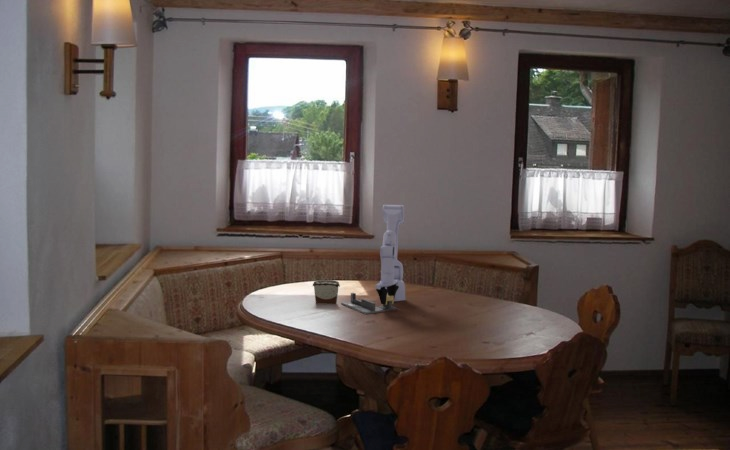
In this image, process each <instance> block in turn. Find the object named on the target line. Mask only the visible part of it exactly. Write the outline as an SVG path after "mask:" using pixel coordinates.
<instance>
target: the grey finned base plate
mask: <svg viewBox="0 0 730 450" xmlns="http://www.w3.org/2000/svg"><path fill="white" fill-rule="evenodd" d="M377 307H379V308H382V309H384V310H385V312H391V311H397V310H398V308H397V307H396V306H393V305H392V304H391V301H387V305H385V304H382V305H377Z"/></svg>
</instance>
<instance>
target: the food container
mask: <svg viewBox="0 0 730 450" xmlns="http://www.w3.org/2000/svg"><path fill="white" fill-rule="evenodd" d="M312 287H313V288H314V289H313V290H314V291H313V292H314V298H315V299H314V300H315V305H332V306H334V305H337V302H338V295H339V288H340V287H341V285H340V282H339V281H337V280H333V279H321V280H315V281H313V283H312Z"/></svg>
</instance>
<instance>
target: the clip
mask: <svg viewBox="0 0 730 450" xmlns="http://www.w3.org/2000/svg"><path fill="white" fill-rule="evenodd" d="M387 301H391V305H394V302H395V301H394V296H392V295H390V294H387V297H386V304H385V305H387Z"/></svg>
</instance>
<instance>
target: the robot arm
mask: <svg viewBox="0 0 730 450" xmlns="http://www.w3.org/2000/svg"><path fill="white" fill-rule="evenodd" d="M405 208H406V207H405V205H403V204H383V205H382V209H381V211H382V212H381V213H382V220H383V223H385V224H386V231H385V232H384V233H383V238H382V245H381V246H380V249H379V250H380V251H379V255H380V262H381V264H380V265H381V266H380V280H379V282H378V283H376V284H375V291H376V292H377V295H378V297H379V301H380V305H383V304H386V297H387V294H390V295H392V296H394V302H402V301H406V300H407V299H406V283H405V282H404V281H403V279H404V266H403V263H402V262H401V261H400V260H398V254H399V252H398V249H399V247H398V246H399V228H400V225H402V224H404V221H405V213H406V212H405Z"/></svg>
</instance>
